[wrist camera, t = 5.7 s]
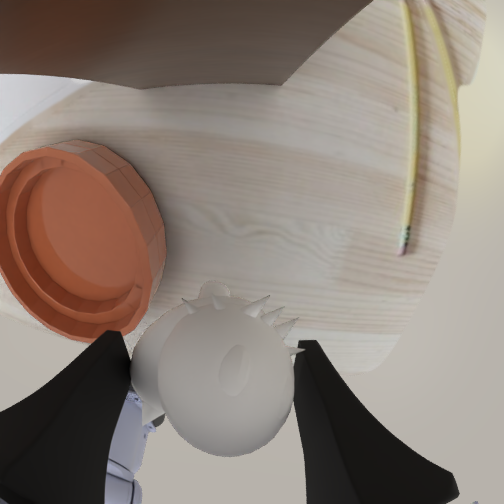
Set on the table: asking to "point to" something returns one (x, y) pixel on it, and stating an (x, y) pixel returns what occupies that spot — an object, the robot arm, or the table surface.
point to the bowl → (80, 239)
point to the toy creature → (217, 372)
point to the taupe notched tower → (167, 39)
